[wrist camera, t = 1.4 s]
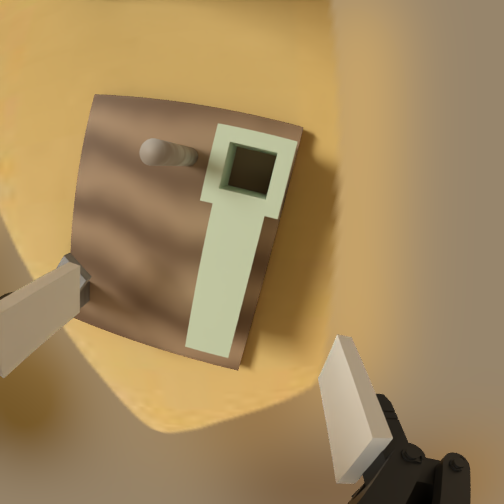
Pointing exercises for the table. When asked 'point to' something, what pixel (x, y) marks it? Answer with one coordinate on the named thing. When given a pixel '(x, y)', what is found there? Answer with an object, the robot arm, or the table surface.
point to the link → (232, 235)
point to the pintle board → (159, 217)
